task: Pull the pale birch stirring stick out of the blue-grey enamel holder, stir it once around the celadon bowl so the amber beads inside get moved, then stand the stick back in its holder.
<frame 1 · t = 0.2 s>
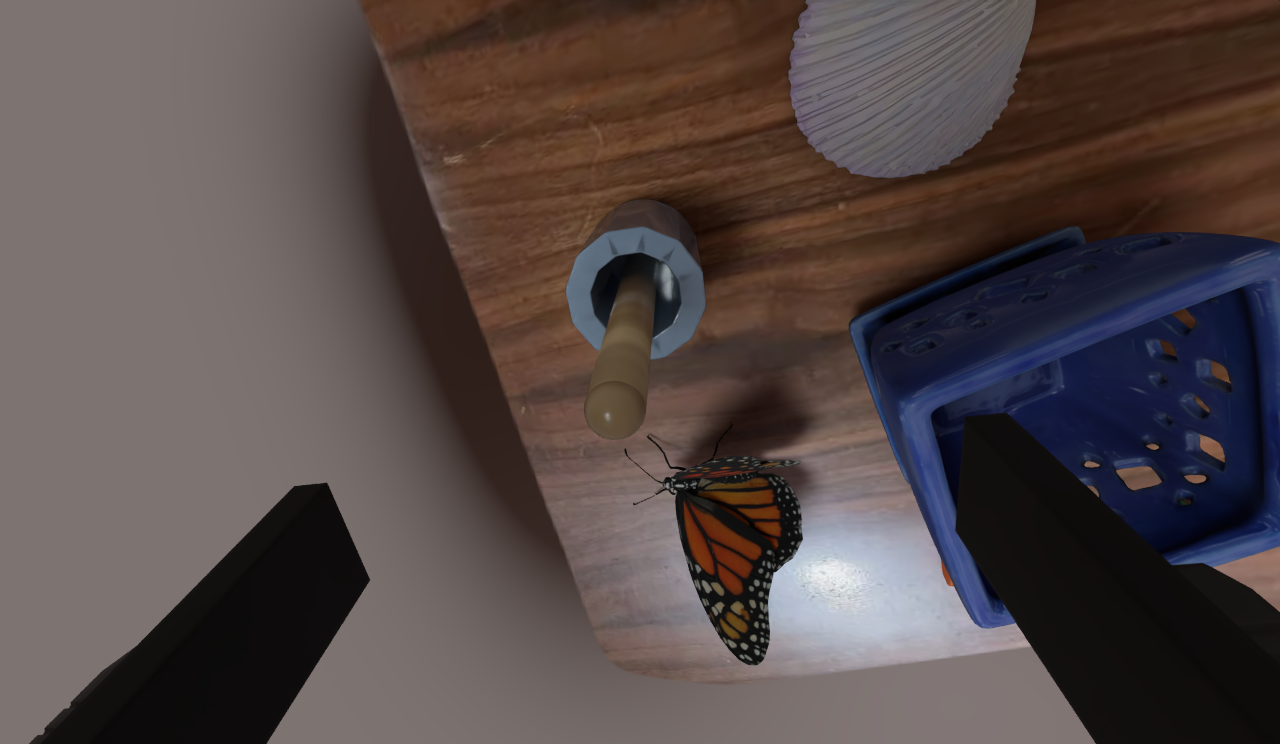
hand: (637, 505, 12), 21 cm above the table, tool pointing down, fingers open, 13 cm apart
holder: (644, 253, 31), on the table
butterfly: (707, 454, 36), on the table
flower pot: (967, 350, 33), on the table
seashell: (899, 63, 27), on the table
stick: (643, 256, 30), point 1 cm above the table, touching holder
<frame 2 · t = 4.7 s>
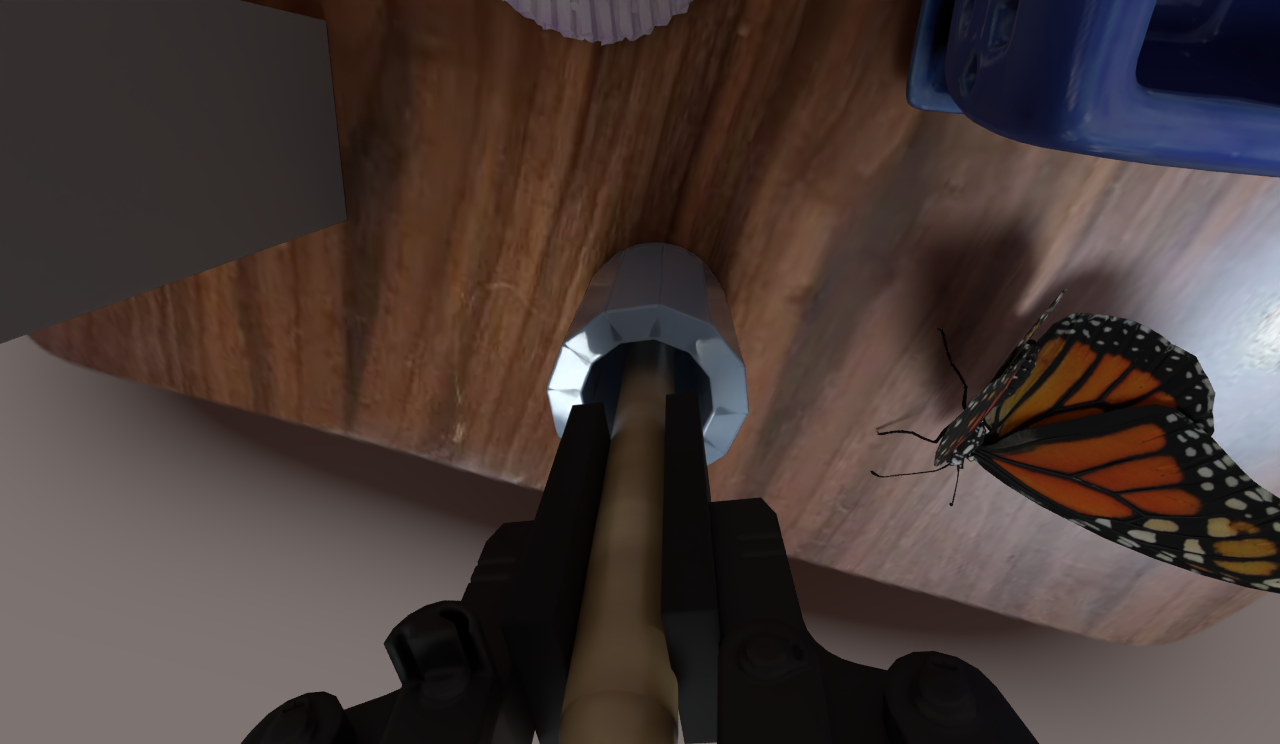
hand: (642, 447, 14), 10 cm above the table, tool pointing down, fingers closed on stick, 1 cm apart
holder: (654, 310, 24), on the table
butterfly: (960, 379, 25), on the table
perfume bottle: (249, 116, 22), on the table
stick: (653, 317, 23), point 1 cm above the table, touching gripper
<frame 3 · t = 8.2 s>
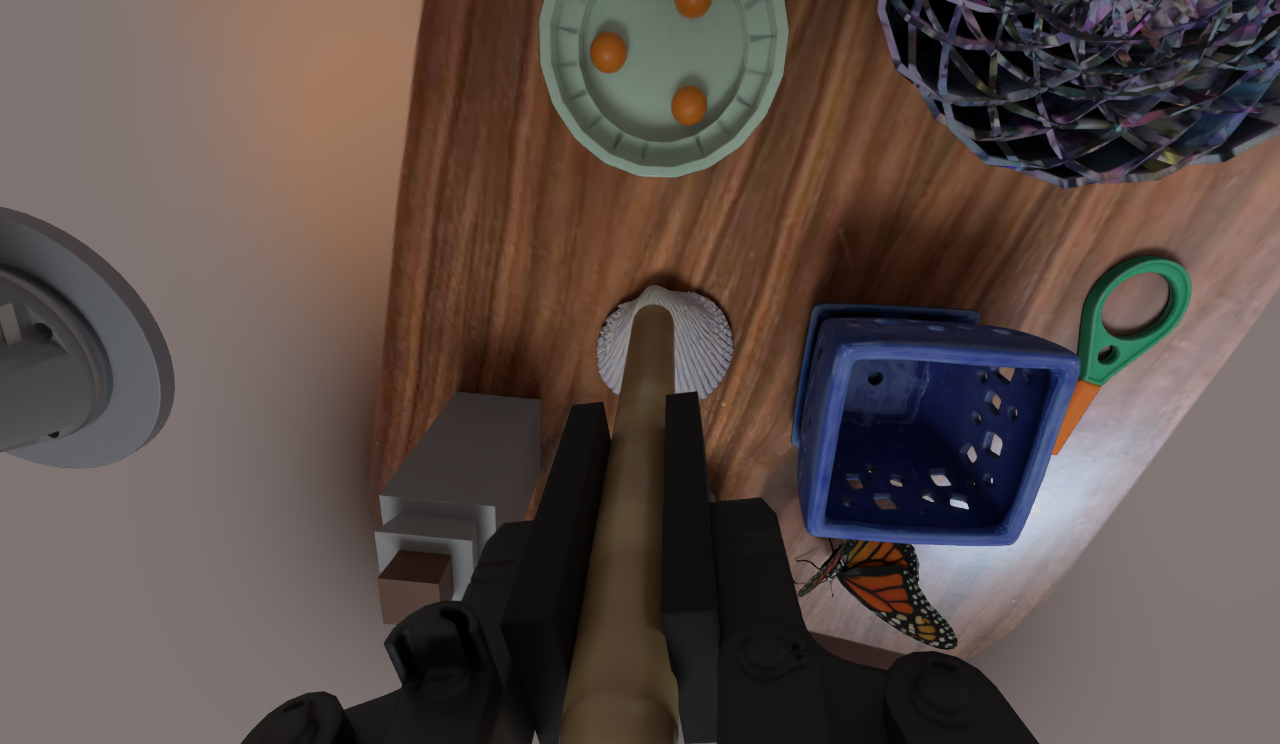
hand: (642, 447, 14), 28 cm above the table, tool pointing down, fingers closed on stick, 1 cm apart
magnifying glass: (1091, 355, 43), on the table
butterfly: (834, 535, 51), on the table
bead3: (689, 105, 36), point 2 cm above the table, touching bowl
bowl: (663, 54, 36), on the table
flower pot: (870, 368, 44), on the table
perfume bottle: (500, 431, 48), on the table
seashell: (663, 346, 44), on the table
bead2: (608, 52, 35), point 2 cm above the table, touching bowl
stick: (653, 318, 23), point 19 cm above the table, touching gripper
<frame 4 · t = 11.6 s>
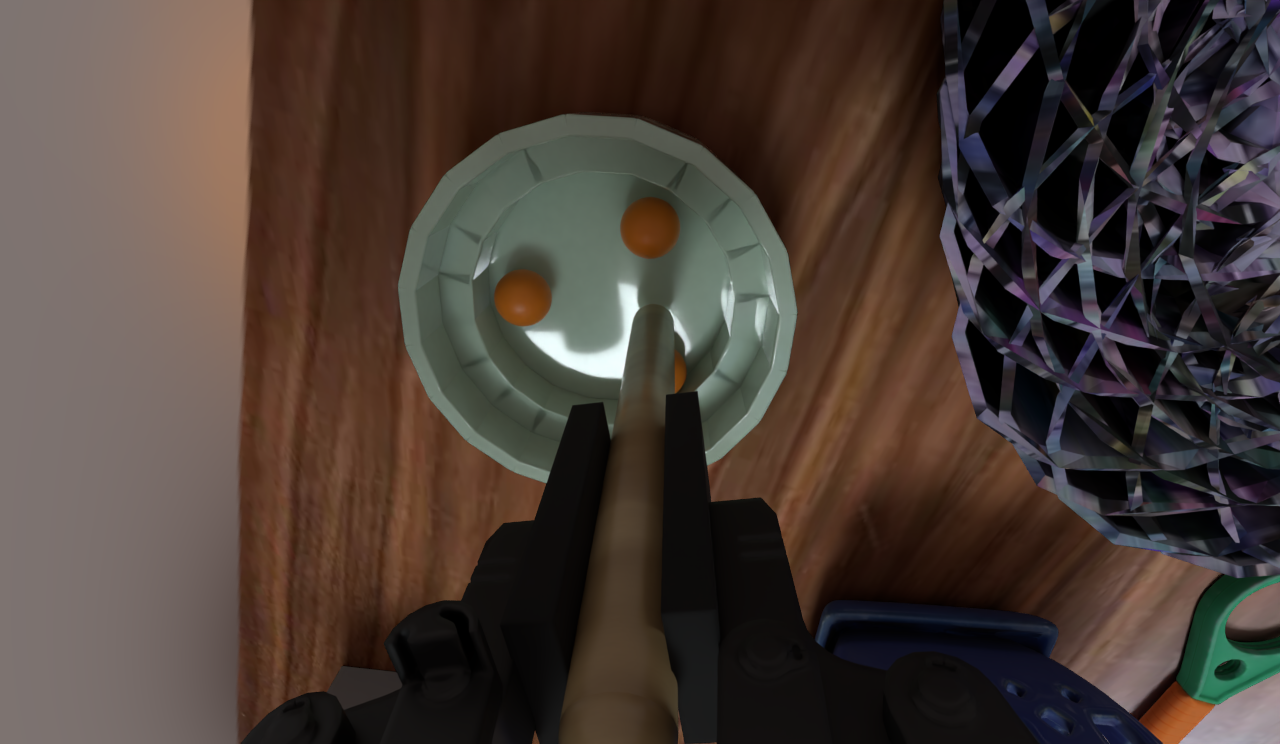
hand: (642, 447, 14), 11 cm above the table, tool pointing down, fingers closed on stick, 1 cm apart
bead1: (650, 228, 21), point 2 cm above the table, touching bowl
magnifying glass: (1200, 655, 31), on the table
bead3: (659, 371, 24), point 2 cm above the table, tilted 29°, touching bowl
decorative bowl: (1222, 113, 21), on the table
bowl: (609, 287, 24), on the table
flower pot: (897, 658, 32), on the table
perfume bottle: (404, 707, 36), on the table
bead2: (523, 297, 23), point 2 cm above the table, touching bowl
stick: (653, 317, 23), point 1 cm above the table, touching gripper
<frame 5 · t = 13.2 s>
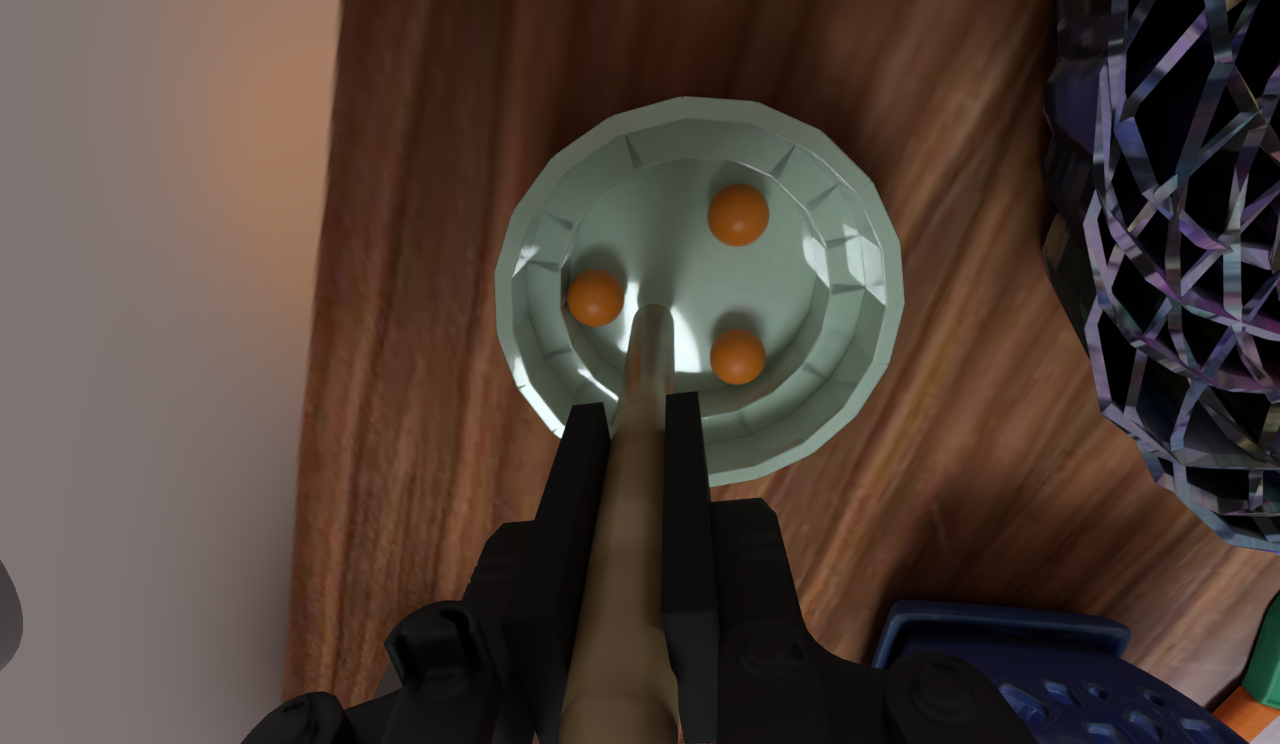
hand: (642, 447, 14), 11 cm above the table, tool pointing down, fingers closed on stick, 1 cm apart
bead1: (738, 215, 21), point 2 cm above the table, tilted 10°, touching bowl
magnifying glass: (1266, 660, 31), on the table
bead3: (737, 356, 23), point 2 cm above the table, tilted 20°, touching bowl
bowl: (690, 278, 24), on the table
flower pot: (957, 660, 32), on the table
perfume bottle: (451, 704, 36), on the table
bead2: (595, 297, 23), point 2 cm above the table, tilted 31°, touching bowl
stick: (653, 317, 23), point 1 cm above the table, touching gripper
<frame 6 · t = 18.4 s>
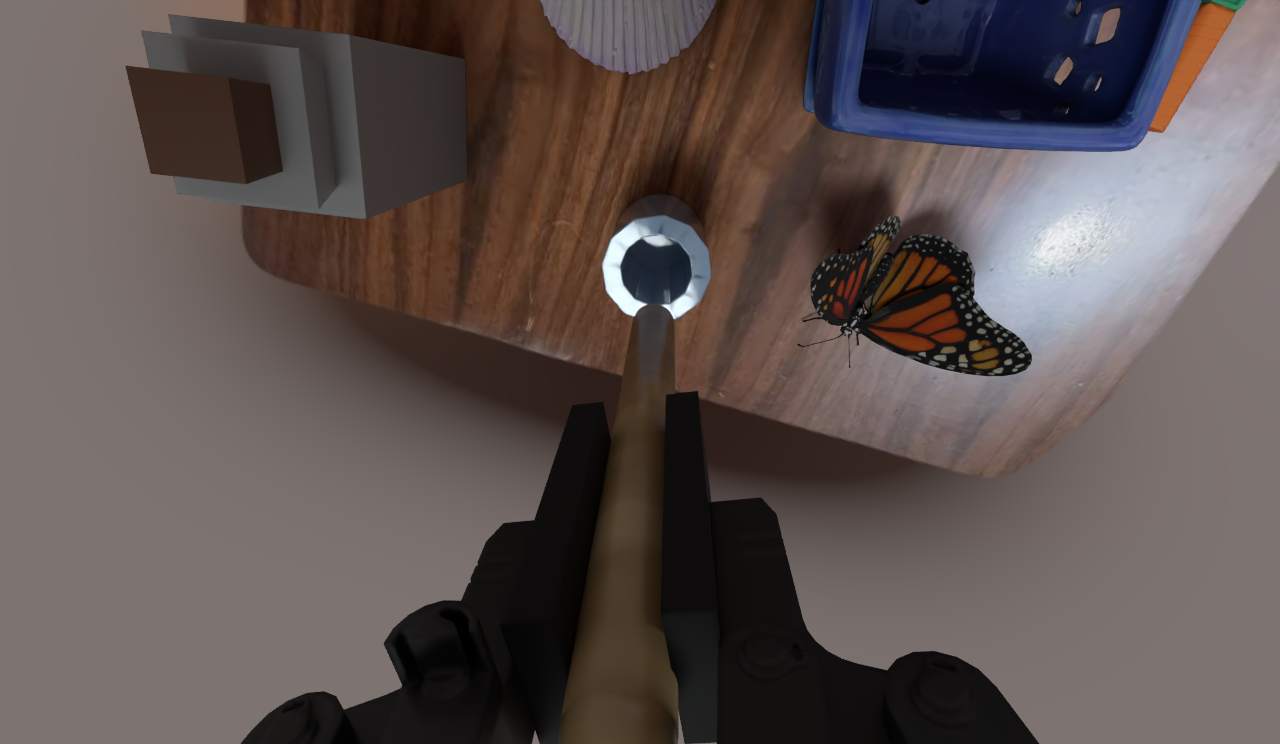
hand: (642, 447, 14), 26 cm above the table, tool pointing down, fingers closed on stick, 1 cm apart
holder: (659, 238, 38), on the table
butterfly: (853, 284, 39), on the table
flower pot: (912, 3, 32), on the table
perfume bottle: (412, 115, 36), on the table
stick: (653, 317, 23), point 16 cm above the table, touching gripper
when the fingers open (10 cm above the table, at t = 22.5 s): stick stays where it is, resting on holder.
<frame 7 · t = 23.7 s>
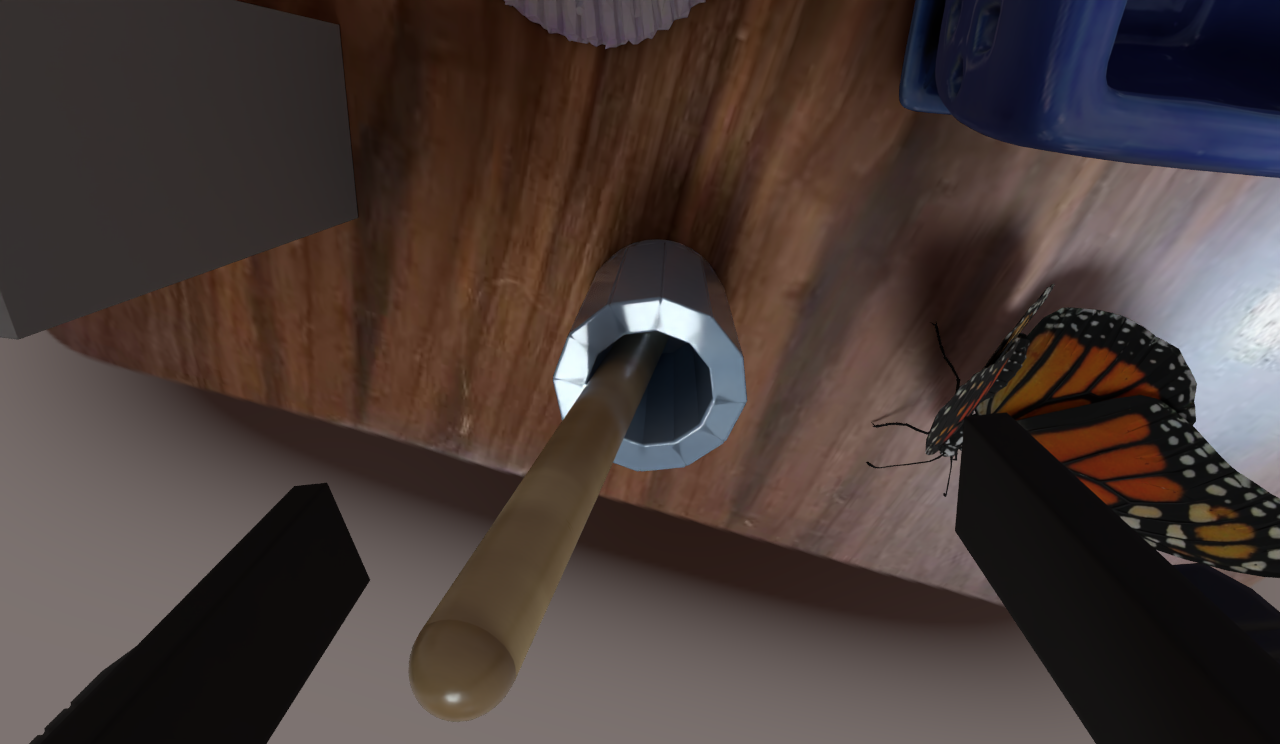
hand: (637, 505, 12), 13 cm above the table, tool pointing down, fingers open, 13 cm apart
holder: (656, 306, 25), on the table
butterfly: (953, 373, 25), on the table
perfume bottle: (264, 117, 22), on the table
stick: (658, 313, 24), point 1 cm above the table, tilted 9°, touching holder
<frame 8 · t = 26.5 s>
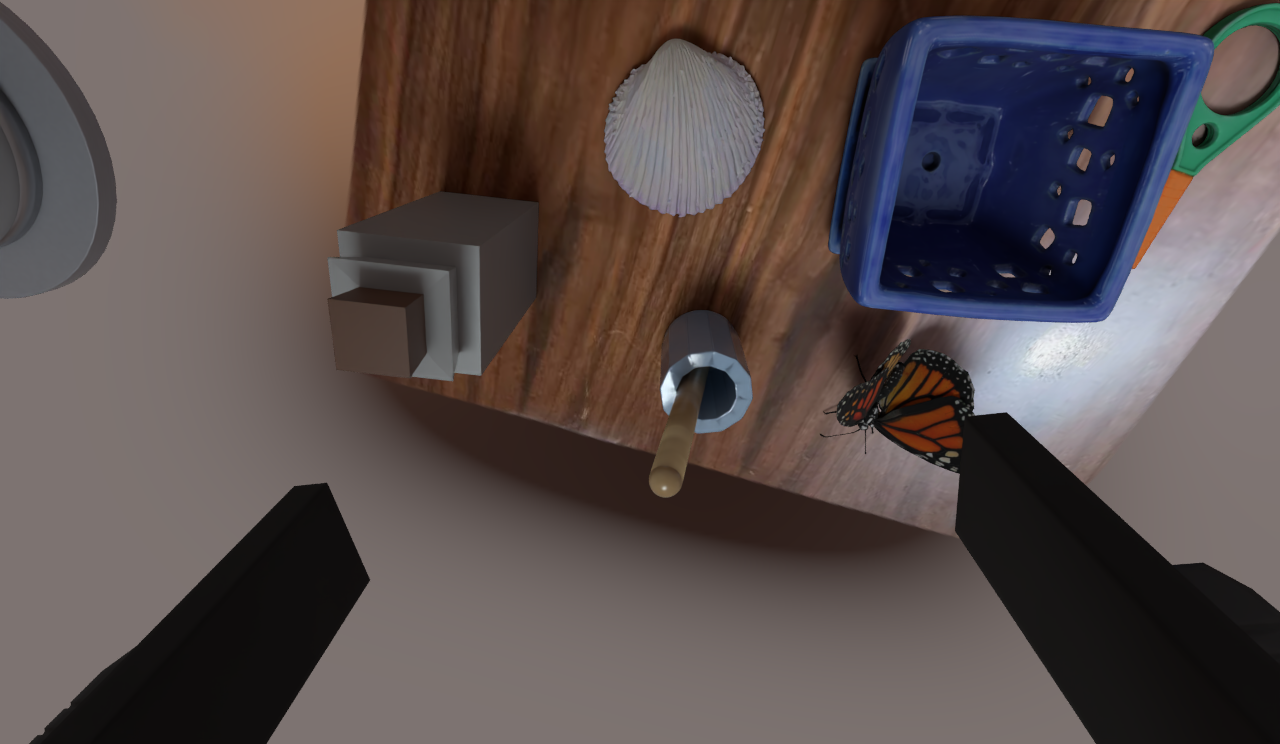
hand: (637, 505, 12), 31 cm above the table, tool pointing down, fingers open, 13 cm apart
magnifying glass: (1180, 145, 37), on the table
holder: (700, 345, 44), on the table
butterfly: (869, 382, 44), on the table
flower pot: (921, 162, 38), on the table
perfume bottle: (490, 245, 42), on the table
seashell: (682, 132, 38), on the table
stick: (702, 350, 43), point 1 cm above the table, tilted 9°, touching holder
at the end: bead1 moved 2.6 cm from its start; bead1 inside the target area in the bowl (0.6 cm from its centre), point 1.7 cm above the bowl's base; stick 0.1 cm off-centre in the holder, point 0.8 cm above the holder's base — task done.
